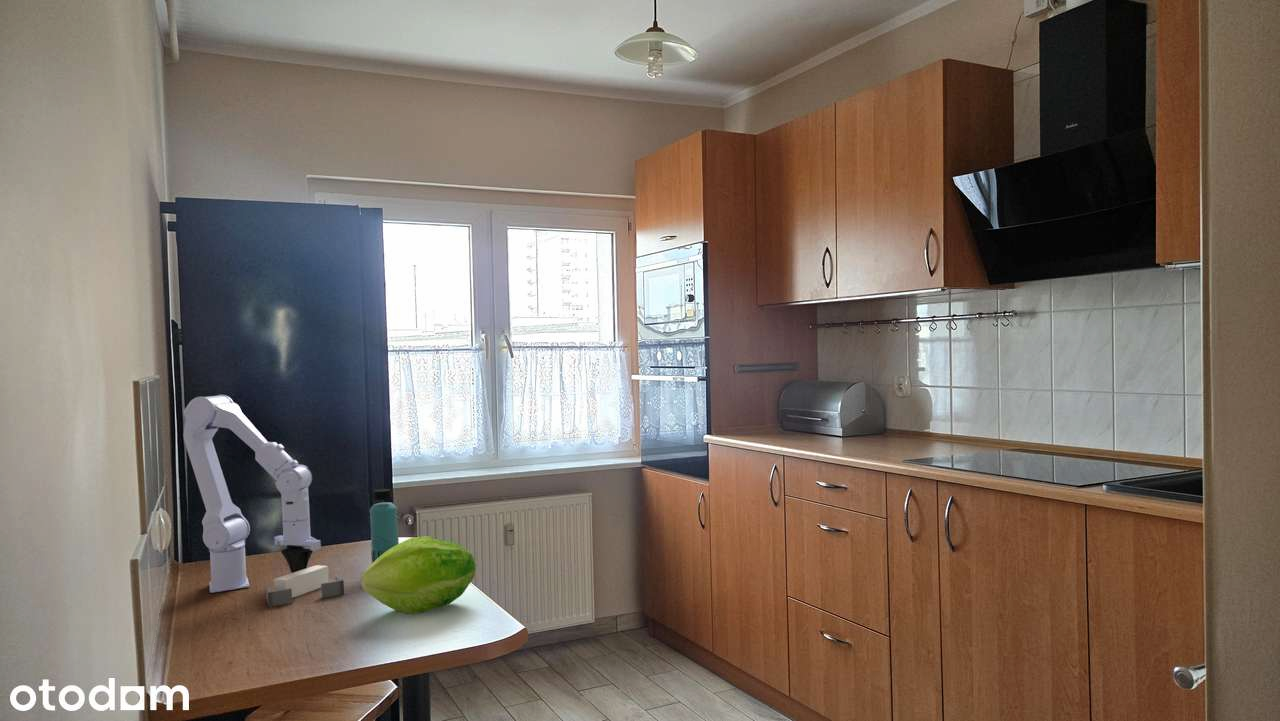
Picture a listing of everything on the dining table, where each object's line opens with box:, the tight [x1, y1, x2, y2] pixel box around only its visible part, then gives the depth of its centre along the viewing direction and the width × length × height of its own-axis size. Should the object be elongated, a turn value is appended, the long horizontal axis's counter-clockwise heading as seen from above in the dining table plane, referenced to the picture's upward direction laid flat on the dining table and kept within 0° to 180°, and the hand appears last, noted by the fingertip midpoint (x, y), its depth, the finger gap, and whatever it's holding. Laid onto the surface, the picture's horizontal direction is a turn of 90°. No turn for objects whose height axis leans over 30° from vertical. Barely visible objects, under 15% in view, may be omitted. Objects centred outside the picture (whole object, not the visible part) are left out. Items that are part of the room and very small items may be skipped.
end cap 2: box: [320, 574, 345, 599], centre depth 182 cm, size 6×4×3 cm
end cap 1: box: [265, 585, 293, 608], centre depth 177 cm, size 6×4×3 cm
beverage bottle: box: [369, 488, 400, 564], centre depth 197 cm, size 6×7×20 cm
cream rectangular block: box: [273, 564, 330, 599], centre depth 184 cm, size 4×12×4 cm, turn 155°
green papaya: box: [360, 535, 477, 614], centre depth 167 cm, size 15×23×16 cm
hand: (299, 578), depth 190 cm, fingers closed
